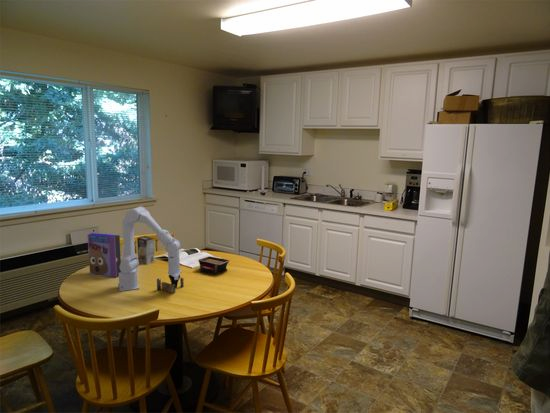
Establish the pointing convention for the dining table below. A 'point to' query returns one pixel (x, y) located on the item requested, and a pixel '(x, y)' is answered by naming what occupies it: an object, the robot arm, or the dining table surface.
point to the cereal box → (104, 254)
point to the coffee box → (145, 249)
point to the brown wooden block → (168, 287)
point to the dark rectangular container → (212, 264)
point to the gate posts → (160, 283)
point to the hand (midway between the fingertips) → (174, 288)
